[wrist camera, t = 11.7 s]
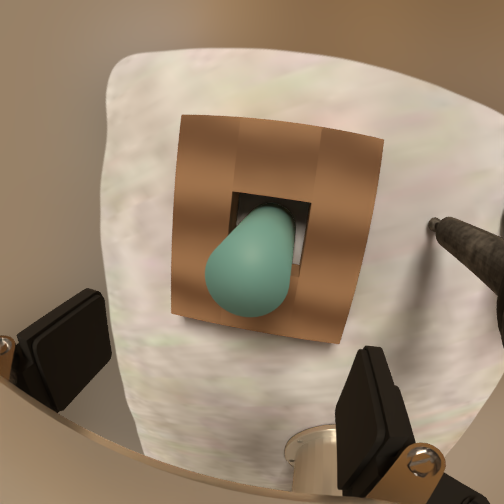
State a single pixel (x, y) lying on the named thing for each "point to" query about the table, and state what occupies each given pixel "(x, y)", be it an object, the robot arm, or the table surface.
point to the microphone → (475, 255)
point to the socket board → (282, 186)
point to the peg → (253, 263)
